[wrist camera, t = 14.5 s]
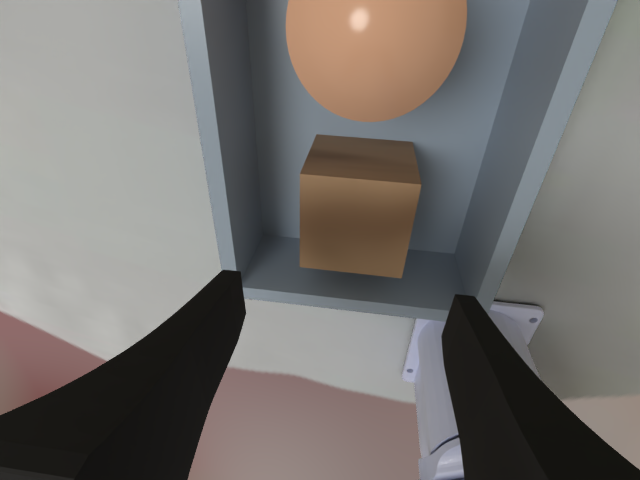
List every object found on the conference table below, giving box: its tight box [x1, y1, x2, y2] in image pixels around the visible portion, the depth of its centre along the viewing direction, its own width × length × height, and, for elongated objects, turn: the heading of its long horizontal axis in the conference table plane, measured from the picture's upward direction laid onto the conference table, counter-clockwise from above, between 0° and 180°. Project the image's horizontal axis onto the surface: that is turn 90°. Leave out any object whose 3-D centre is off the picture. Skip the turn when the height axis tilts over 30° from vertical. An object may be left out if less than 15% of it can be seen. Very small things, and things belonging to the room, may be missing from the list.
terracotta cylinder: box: [286, 0, 467, 122], centre depth 13 cm, size 5×5×7 cm
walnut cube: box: [300, 134, 422, 278], centre depth 19 cm, size 5×5×5 cm
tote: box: [178, 0, 618, 322], centre depth 17 cm, size 18×14×6 cm
